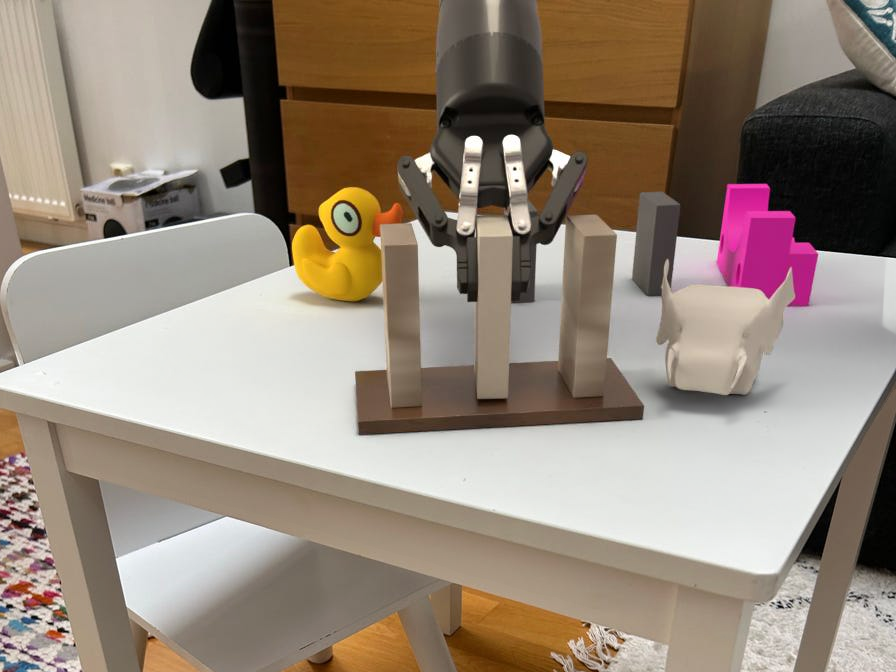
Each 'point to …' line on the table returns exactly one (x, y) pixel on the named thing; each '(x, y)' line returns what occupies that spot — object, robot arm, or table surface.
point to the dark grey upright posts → (640, 243)
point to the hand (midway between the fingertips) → (494, 294)
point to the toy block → (762, 245)
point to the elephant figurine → (719, 334)
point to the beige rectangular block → (493, 306)
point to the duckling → (344, 246)
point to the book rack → (530, 383)
